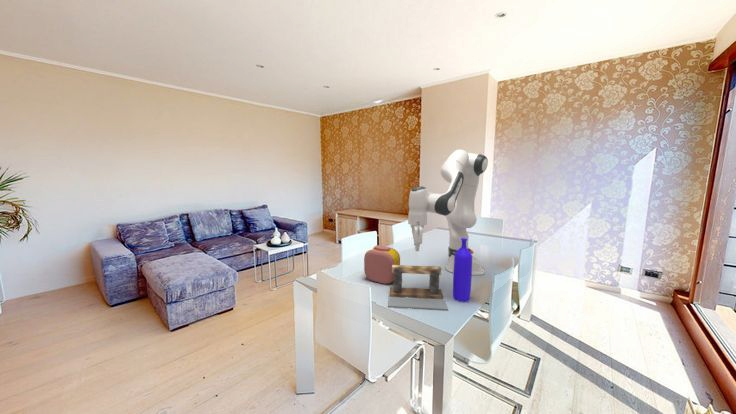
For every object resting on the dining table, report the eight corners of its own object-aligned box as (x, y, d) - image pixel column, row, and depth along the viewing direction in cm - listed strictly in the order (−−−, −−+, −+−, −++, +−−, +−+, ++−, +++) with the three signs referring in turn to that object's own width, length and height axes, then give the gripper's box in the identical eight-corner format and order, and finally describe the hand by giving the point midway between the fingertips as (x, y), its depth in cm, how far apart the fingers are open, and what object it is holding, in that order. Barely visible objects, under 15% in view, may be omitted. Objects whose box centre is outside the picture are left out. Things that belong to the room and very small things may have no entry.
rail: (440, 272, 137) (440, 266, 137) (441, 274, 134) (441, 268, 134) (392, 270, 140) (392, 264, 139) (391, 272, 137) (391, 267, 136)
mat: (445, 301, 131) (445, 300, 131) (447, 310, 123) (448, 308, 123) (388, 299, 134) (388, 297, 134) (387, 307, 126) (387, 305, 126)
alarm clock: (400, 279, 157) (401, 246, 154) (392, 286, 147) (393, 252, 144) (372, 273, 166) (372, 242, 163) (363, 280, 156) (362, 247, 153)
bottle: (449, 294, 138) (452, 236, 134) (465, 293, 139) (468, 236, 134) (456, 302, 130) (459, 241, 125) (473, 302, 131) (476, 240, 126)
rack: (440, 291, 141) (441, 265, 139) (443, 299, 133) (444, 271, 131) (390, 289, 144) (390, 264, 142) (389, 296, 136) (389, 269, 134)
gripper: (426, 225, 122) (425, 254, 124) (422, 216, 143) (421, 242, 145) (411, 224, 123) (410, 254, 125) (410, 216, 143) (409, 242, 145)
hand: (416, 247), depth 135 cm, fingers open, 8 cm apart
